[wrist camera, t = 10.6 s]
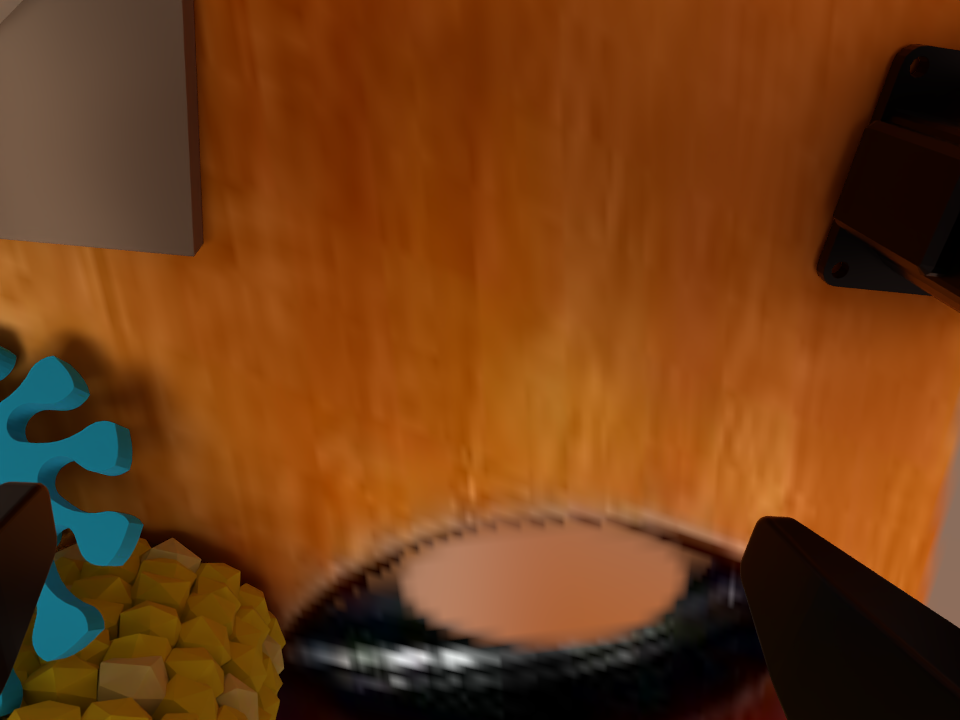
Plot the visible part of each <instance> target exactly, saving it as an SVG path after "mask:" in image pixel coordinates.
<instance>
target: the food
mask: <svg viewBox="0 0 960 720" xmlns="http://www.w3.org/2000/svg"><path fill="white" fill-rule="evenodd" d="M54 562H55V565H56V568H57V571H58V573H59V576H60V578H61V580H62V582H63V583H64V585H65V586H66V588H67V589H68V590H69V591H70V592H71V593H72V594H73V595H74V596H75V597H77V598H78V599H80V600H81V601H83V602H85V603H87V604H89V605H92V606H94V607H95V608H96V609H98V610H99V612H100V613H101V614H102V617H103V619H104V625H105V629H104V630H103V631H102V632H101V633H100V634H99V635H98V636H97V637H96V638H95V639H94V640H93V641H92V642H91V643H89V644H88V645H87V646H86V647H85V648H83V649H82V650H80V651H79V652H77V653H76V654H74V655H72V656H69V657H67V658H63V659H58V660H53V661H48V662H47V661H45V660H43V659H42V658H40V657H39V656H38V655H37V653H36V651H35V650H34V647H33V642H32V635H33V629H34V624H35V620H36V616H37V605H36V608H35V610H34V613H33V616H32V619H31V621H30V624H29V627H28V629H27V632H26V635H25V637H24V640H23V643H22V645H21V648H20V651H19V654H18V656H17V659H16V661H15V664H14V666H13V668H14V671H15V673H16V675H17V677H18V678H19V680H20V682H21V685H22V688H23V698H22V703H21V706H20V708H18V709H15V710H14V711H13V712H12V713H10V714H8V715H5V716H1V717H0V720H275V719H276V715H277V711H278V707H279V703H280V700H279V699H278V697H277V692H278V691H279V689H280V687H281V686H282V684H283V683H282V681H281V679H280V677H279V675H278V674H279V673H280V672H281V671H282V670H283V669H284V664H283V657H282V651H281V649H282V648H283V647H284V645H285V644H286V642H285V639H284V637H283V634H282V632H281V629H280V627H279V624H278V622H277V619H276V618H275V617H274V615H273V614H272V613H271V612H270V611H269V612H268V608H267V605H266V601H265V597H264V594H263V592H262V591H261V590H259V589H257V588H255V587H253V586H251V585H249V584H247V583H246V584H244V585H242V586H241V587H240V572H241V571H239V570H237V569H235V568H233V567H231V566H229V565H227V564H225V563H200V562H201V559H200V558H199V557H198V556H196V555H195V554H194V553H192V552H191V551H190V550H188V549H187V548H186V547H185V546H183V545H182V544H181V543H179V542H178V541H177V540H175V539H174V538H171V539H169V540H167V541H165V542H163V543H161V544H159V545H157V546H155V547H153V548H151V547H150V545H149V544H148V542H147V540H146V539H142V538H139V540H138V542H137V544H136V547H135V549H134V551H133V552H132V554H131V556H130V557H129V559H128V560H127V561H126V562H125V563H124V565H123V566H99V565H94V564H91V563H89V562H88V561H87V560H85V558H84V557H83V556H82V554H81V552H80V550H79V547H78V544H77V543H76V544H74V545H72V546H69V547H67V548H65V549H63V550H61V551H58V552H56V553H55V556H54Z"/></svg>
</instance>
